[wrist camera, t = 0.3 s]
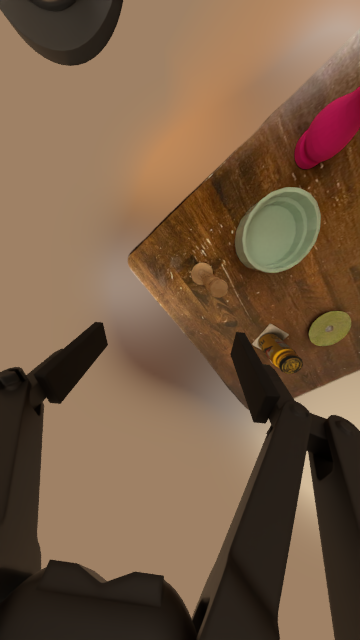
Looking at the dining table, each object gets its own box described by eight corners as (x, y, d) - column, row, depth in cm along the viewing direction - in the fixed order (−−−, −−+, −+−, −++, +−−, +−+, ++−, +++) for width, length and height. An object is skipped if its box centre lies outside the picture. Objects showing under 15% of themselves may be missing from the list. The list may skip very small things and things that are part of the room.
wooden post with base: (191, 262, 39) (199, 266, 19) (213, 263, 39) (244, 267, 19) (190, 283, 42) (196, 308, 21) (210, 284, 41) (236, 309, 21)
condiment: (251, 344, 48) (271, 370, 37) (269, 323, 45) (297, 344, 34) (269, 353, 49) (293, 381, 38) (288, 334, 46) (320, 357, 35)
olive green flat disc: (329, 346, 48) (335, 349, 46) (296, 338, 47) (301, 341, 45) (353, 314, 43) (360, 316, 42) (317, 304, 43) (323, 306, 41)
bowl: (240, 198, 34) (251, 186, 28) (308, 200, 34) (333, 188, 28) (229, 269, 40) (236, 271, 34) (288, 271, 40) (305, 273, 34)
